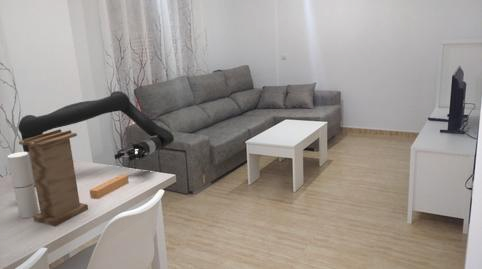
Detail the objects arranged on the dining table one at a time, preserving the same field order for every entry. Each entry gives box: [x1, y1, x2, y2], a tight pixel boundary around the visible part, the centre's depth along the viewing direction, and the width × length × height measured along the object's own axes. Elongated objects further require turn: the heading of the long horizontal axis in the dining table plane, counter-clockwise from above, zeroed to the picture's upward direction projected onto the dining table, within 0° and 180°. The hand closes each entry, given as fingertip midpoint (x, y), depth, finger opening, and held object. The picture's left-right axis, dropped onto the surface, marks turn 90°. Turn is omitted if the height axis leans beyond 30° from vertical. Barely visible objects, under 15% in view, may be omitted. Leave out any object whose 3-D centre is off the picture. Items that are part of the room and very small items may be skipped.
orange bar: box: [89, 174, 129, 200], centre depth 185 cm, size 4×20×4 cm, turn 154°
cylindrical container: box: [7, 151, 40, 219], centre depth 162 cm, size 7×7×25 cm
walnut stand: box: [18, 128, 89, 227], centre depth 158 cm, size 12×16×33 cm
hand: (122, 158), depth 191 cm, fingers open, 8 cm apart
